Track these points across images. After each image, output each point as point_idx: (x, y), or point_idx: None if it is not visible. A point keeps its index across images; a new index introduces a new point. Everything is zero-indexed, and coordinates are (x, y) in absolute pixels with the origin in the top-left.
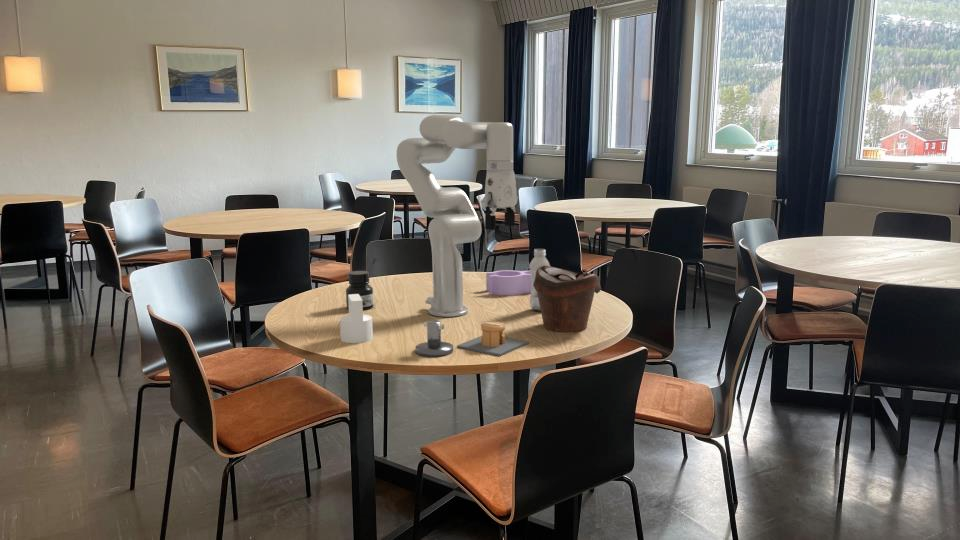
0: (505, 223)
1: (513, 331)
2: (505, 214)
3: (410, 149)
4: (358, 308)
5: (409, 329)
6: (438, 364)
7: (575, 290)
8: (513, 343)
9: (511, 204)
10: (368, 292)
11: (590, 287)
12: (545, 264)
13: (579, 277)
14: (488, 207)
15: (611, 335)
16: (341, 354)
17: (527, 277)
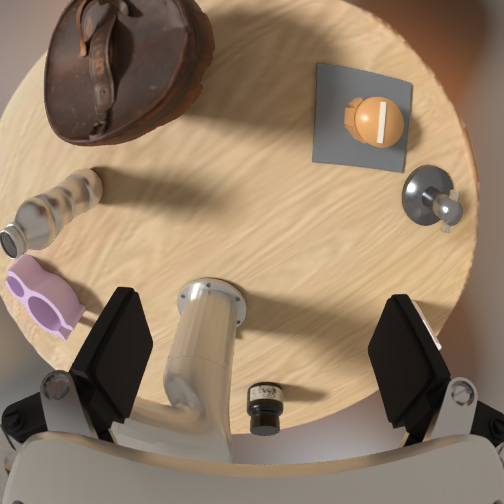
0: (148, 349)
1: (255, 131)
2: (129, 403)
3: None
4: (434, 335)
5: (337, 295)
6: (468, 157)
7: None
8: (347, 83)
9: (162, 488)
10: (266, 401)
11: None
12: (30, 205)
13: (69, 49)
14: (499, 435)
15: None
16: (456, 286)
17: (27, 282)
